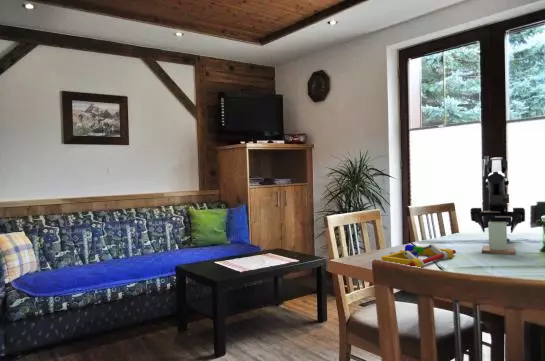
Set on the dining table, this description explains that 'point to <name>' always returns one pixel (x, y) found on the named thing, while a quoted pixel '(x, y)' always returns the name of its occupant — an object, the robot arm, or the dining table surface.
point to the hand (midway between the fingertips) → (497, 231)
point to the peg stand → (509, 250)
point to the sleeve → (497, 235)
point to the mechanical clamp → (412, 252)
